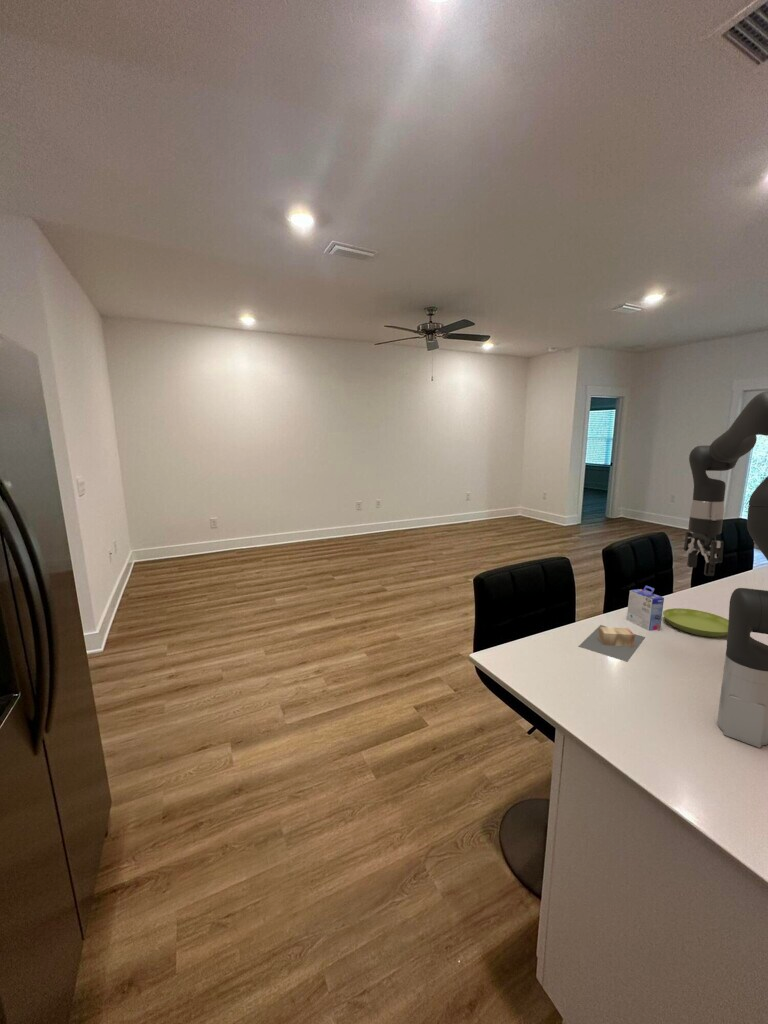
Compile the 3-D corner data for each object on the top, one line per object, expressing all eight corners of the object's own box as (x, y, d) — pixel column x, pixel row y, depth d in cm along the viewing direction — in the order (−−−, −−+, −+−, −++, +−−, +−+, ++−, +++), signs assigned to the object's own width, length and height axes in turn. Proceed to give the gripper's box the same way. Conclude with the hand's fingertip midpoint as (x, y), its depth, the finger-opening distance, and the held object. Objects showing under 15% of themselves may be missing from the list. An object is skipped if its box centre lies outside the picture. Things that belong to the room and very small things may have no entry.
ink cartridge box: (661, 630, 143) (665, 591, 141) (649, 632, 142) (653, 592, 140) (637, 619, 153) (641, 582, 151) (625, 621, 151) (628, 583, 149)
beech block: (598, 637, 137) (627, 639, 136) (603, 644, 132) (633, 646, 131) (598, 626, 137) (628, 628, 135) (604, 633, 132) (634, 634, 130)
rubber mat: (627, 663, 122) (627, 661, 122) (578, 648, 132) (578, 646, 132) (645, 638, 138) (645, 637, 137) (600, 626, 147) (600, 624, 147)
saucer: (751, 640, 136) (752, 631, 135) (689, 641, 136) (690, 632, 135) (703, 615, 156) (704, 607, 156) (649, 616, 156) (650, 608, 156)
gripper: (678, 512, 124) (673, 564, 127) (706, 520, 110) (700, 578, 113) (705, 512, 123) (699, 565, 126) (737, 520, 109) (730, 579, 112)
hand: (700, 571), depth 119 cm, fingers open, 8 cm apart
